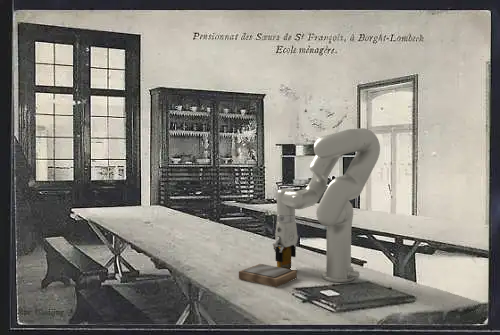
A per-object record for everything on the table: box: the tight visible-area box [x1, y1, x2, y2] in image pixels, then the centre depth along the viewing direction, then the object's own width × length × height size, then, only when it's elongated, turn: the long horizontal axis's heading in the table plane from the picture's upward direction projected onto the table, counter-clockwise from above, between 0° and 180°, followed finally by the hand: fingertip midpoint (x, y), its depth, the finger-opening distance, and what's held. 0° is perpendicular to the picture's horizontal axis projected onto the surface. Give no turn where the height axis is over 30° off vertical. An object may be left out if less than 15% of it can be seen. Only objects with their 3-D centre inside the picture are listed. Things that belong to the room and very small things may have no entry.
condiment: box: [274, 244, 292, 269], centre depth 233 cm, size 7×8×12 cm
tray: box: [238, 263, 298, 288], centre depth 220 cm, size 18×14×3 cm
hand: (285, 258), depth 233 cm, fingers open, 9 cm apart
